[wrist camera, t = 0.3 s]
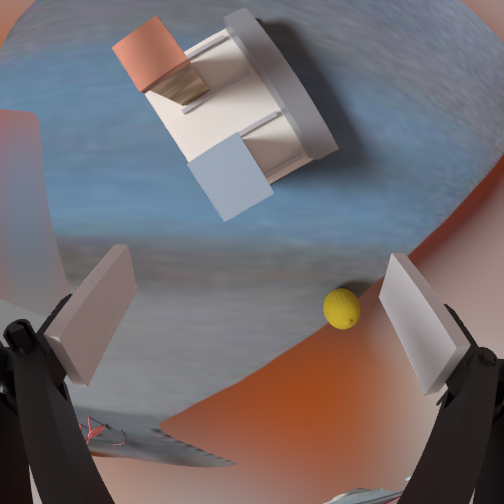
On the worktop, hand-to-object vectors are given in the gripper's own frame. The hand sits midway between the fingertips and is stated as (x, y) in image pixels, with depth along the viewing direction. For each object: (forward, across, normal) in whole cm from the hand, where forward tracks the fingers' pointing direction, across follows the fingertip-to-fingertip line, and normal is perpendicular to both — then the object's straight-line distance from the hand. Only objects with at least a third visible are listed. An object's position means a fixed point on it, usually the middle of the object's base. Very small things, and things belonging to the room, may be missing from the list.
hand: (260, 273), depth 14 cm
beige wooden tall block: (+26, -10, +11) cm, 30 cm away
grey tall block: (+25, -3, +1) cm, 25 cm away
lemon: (+25, +13, -20) cm, 34 cm away
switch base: (+27, -3, +8) cm, 29 cm away
